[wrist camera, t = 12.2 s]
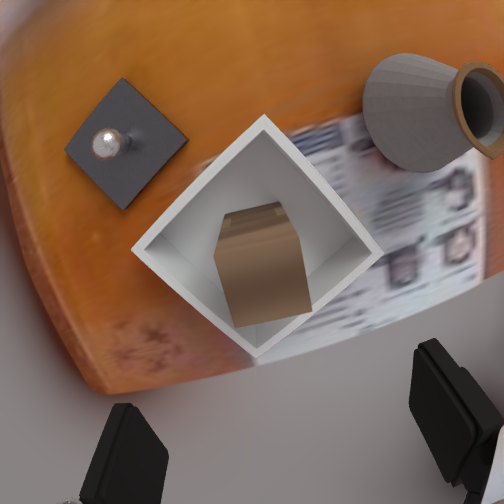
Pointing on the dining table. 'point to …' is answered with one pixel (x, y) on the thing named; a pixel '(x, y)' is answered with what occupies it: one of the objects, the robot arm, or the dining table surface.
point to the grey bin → (247, 196)
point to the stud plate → (143, 143)
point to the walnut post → (261, 266)
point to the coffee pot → (433, 111)
